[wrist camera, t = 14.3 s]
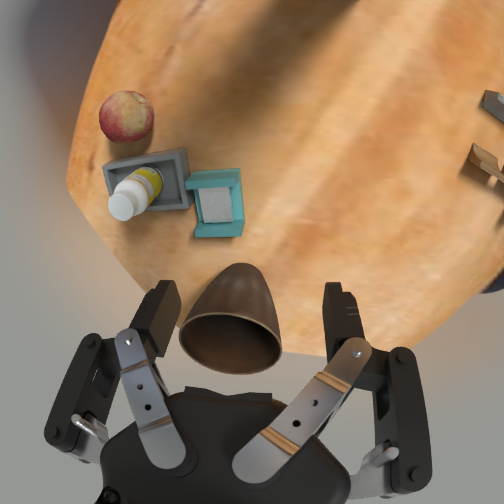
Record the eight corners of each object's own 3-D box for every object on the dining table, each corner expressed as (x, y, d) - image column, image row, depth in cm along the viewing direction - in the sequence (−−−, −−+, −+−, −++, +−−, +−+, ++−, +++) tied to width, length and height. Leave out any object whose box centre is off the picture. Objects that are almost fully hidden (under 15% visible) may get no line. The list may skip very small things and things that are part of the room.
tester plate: (199, 185, 38) (198, 188, 38) (229, 184, 38) (228, 186, 37) (205, 219, 41) (204, 223, 41) (233, 218, 41) (232, 222, 40)
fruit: (169, 126, 35) (145, 137, 29) (128, 144, 37) (100, 158, 31) (153, 80, 31) (125, 82, 25) (112, 102, 33) (82, 109, 27)
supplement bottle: (143, 200, 42) (114, 230, 34) (130, 171, 39) (96, 196, 31) (170, 190, 41) (144, 219, 32) (157, 159, 38) (126, 182, 30)
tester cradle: (193, 171, 39) (184, 181, 36) (239, 168, 39) (235, 178, 35) (202, 223, 44) (195, 237, 41) (244, 221, 43) (241, 236, 40)
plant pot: (188, 279, 52) (163, 345, 39) (232, 227, 44) (211, 295, 31) (250, 316, 56) (241, 383, 43) (300, 275, 49) (304, 348, 35)
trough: (111, 160, 39) (101, 166, 36) (185, 148, 37) (179, 152, 35) (123, 206, 44) (115, 214, 41) (194, 200, 42) (188, 208, 40)
